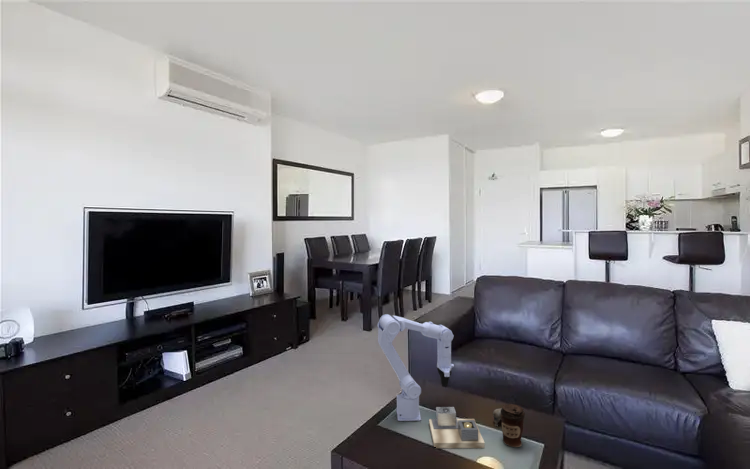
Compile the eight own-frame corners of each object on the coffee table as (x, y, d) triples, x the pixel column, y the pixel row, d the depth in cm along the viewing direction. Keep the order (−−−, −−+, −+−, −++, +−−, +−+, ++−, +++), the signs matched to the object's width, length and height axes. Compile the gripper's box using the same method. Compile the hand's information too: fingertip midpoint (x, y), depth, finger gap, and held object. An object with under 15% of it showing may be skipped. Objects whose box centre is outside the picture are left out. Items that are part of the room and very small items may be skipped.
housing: (437, 427, 141) (437, 413, 140) (436, 420, 145) (436, 406, 145) (456, 427, 140) (456, 413, 140) (454, 420, 145) (453, 406, 144)
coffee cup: (522, 453, 128) (522, 417, 127) (497, 445, 132) (497, 410, 131) (526, 439, 135) (526, 405, 134) (503, 432, 140) (503, 400, 139)
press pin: (464, 437, 134) (464, 426, 133) (462, 432, 137) (462, 422, 136) (473, 437, 134) (472, 426, 133) (471, 432, 136) (470, 422, 136)
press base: (434, 448, 132) (434, 431, 131) (429, 423, 146) (428, 409, 146) (484, 447, 131) (484, 431, 131) (474, 423, 146) (474, 408, 146)
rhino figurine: (522, 418, 149) (522, 404, 149) (497, 428, 143) (497, 413, 142) (514, 413, 153) (514, 399, 152) (489, 423, 146) (489, 408, 146)
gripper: (456, 361, 148) (457, 394, 149) (450, 348, 163) (450, 377, 163) (439, 361, 148) (439, 394, 149) (434, 348, 163) (435, 378, 164)
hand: (444, 385), depth 156 cm, fingers closed
